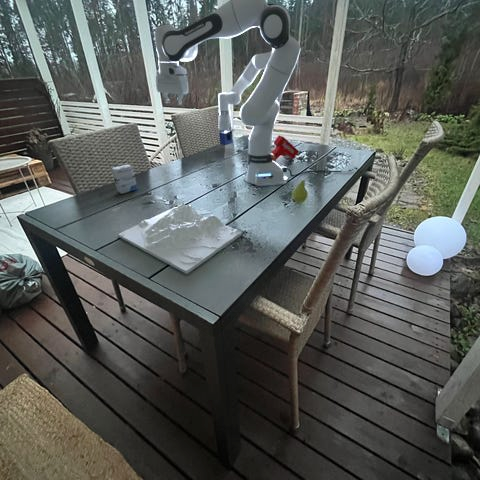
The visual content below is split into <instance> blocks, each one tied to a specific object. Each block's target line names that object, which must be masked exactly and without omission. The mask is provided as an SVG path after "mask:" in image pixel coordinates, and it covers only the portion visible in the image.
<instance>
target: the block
mask: <svg viewBox="0 0 480 480" xmlns="http://www.w3.org/2000/svg"><path fill="white" fill-rule="evenodd" d="M218 134H219V144H220V145H223V146H228V145H231V144H234V138H233V137H234V134H233V132H232V134H231V140H228V138H227V135H228V133H227V131H225V130H224V132H220V131H219V132H218Z"/></svg>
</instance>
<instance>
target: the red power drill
mask: <svg viewBox="0 0 480 480" xmlns="http://www.w3.org/2000/svg"><path fill="white" fill-rule="evenodd" d="M275 139H276V140H275V141H274V142H273V144H274V146H275V148H274V149H273V150H272V151H270V153H272V154H273V155H274V156H275V157H276V159H275V160H274V161H275V162H276V163H277V159H278V158H279V157H280V156H282V157H284V158H285V157H288V158H290V159H293V160H294V159H296V158H297V156H298V154H299V153H300V150H298V148H296V147H295V146H294V145H293V144H292V143H291V142H290V141H289V140H288V139H286V137H285V136H283V135H280V134H278V136H277V137H276V138H275Z"/></svg>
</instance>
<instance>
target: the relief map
mask: <svg viewBox="0 0 480 480" xmlns="http://www.w3.org/2000/svg"><path fill="white" fill-rule="evenodd" d="M242 235H243V231H242V230H239V229H238V228H234V227H231V226H229V225H226V224H224V223H223V222H222V221H221V220H220V219H219V218H218V216H216V215H214V214H212V215H210V216H207V217H205V216H204V215H203V214H199V213H198V212H197V211H196V209H195V208H194V207H193V206H192V205H191V204H187V205H186V204H185V202H182V204H180V205H179V206H174V207H171V208H170V209H168V210H165V211H163V212H161V213H159V214H157V215H154V216H153V217H150V218H149V219H143V220H141V221H140V222H139V223H138V224H137V225H134V226H132V227H129V228H128V229H126V230H123V231H122V232H120V233H117V236H118V238H120V239H121V240H123V241H125V242H127V243H129V244H131V245H132V246H134V247H136V248H138V249H140V250H141V251H143V252H145V253H147V254H149V255H151V256H153V257H154V258H156V259H158V260H160V261H162V262H163V263H165V264H166V265H169V266H171V267H173V268H175V269H176V270H178V271H180V272H182V273H183V274H185V275H188V274H190V273H191V272H192V271H193V270H195V269H196V268H198V267H199V266H201V265H202V264H203V263H205V262H206V261H208V260H209V259H211V258H212V257H214V256H215V255H216V254H217V253H219V252H220V251H222V250H223V249H224V248H226V247H227V246H229V245H230V244H231V243H233V242H235V241H236V240H237V239H238V238H240V237H241V236H242Z"/></svg>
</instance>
